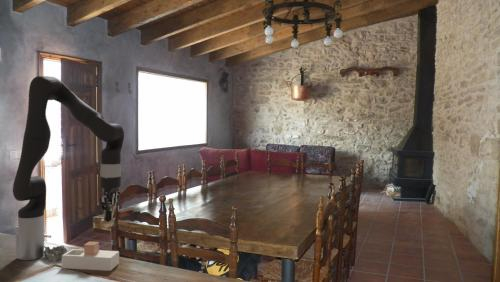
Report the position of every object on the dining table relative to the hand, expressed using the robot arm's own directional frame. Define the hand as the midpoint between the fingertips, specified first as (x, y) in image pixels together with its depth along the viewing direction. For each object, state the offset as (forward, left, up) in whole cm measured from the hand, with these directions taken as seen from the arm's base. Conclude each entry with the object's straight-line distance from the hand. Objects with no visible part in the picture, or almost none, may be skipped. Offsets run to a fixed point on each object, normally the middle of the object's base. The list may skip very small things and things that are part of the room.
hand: (110, 219), depth 148 cm
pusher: (-1, 0, -2) cm, 3 cm away
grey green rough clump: (-26, +7, -19) cm, 33 cm away
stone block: (-7, 0, -14) cm, 16 cm away
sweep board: (-8, 0, -19) cm, 20 cm away
